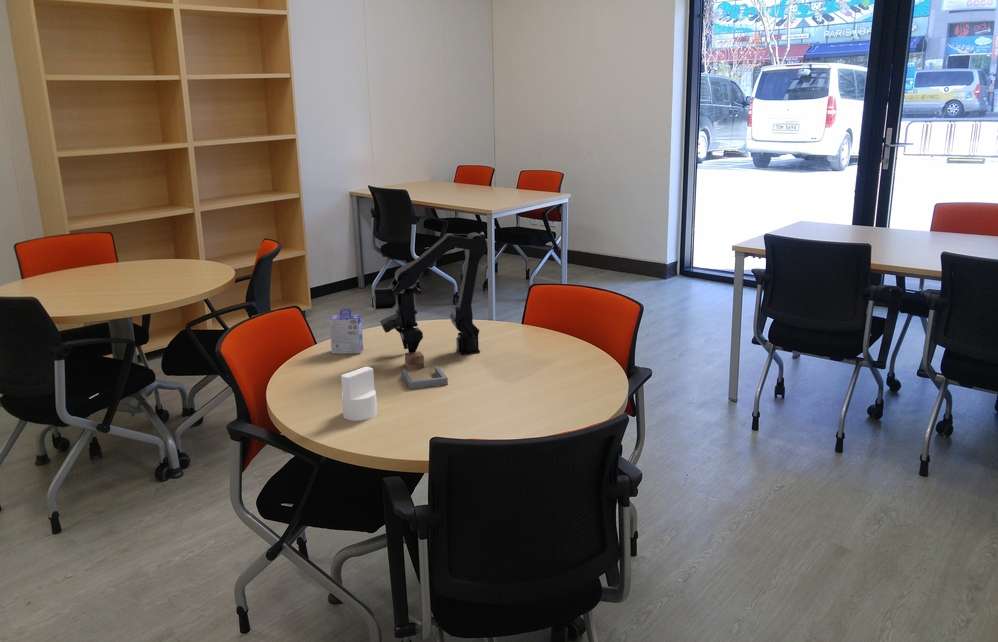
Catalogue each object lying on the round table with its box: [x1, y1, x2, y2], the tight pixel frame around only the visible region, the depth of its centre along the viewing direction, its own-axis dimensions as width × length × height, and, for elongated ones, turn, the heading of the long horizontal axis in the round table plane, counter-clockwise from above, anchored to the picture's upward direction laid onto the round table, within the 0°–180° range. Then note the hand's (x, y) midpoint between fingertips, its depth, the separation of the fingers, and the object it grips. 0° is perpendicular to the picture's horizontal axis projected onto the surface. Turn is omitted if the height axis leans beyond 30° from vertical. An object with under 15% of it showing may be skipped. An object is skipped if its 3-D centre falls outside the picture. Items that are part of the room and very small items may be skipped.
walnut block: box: [404, 350, 425, 370], centre depth 239 cm, size 5×5×4 cm
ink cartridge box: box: [328, 308, 364, 355], centre depth 252 cm, size 10×6×14 cm, turn 89°
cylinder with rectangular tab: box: [340, 366, 378, 422], centre depth 202 cm, size 9×9×12 cm
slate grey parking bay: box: [401, 365, 449, 390], centre depth 226 cm, size 11×11×2 cm
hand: (408, 353), depth 247 cm, fingers open, 9 cm apart
